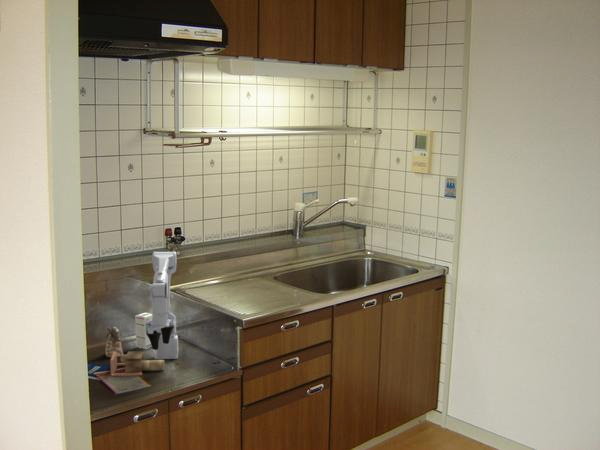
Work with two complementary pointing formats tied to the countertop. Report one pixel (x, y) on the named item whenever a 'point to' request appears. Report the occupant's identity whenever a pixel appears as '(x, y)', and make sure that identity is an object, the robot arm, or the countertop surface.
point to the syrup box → (143, 330)
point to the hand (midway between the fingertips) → (160, 346)
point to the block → (134, 362)
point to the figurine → (113, 342)
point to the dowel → (152, 365)
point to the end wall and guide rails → (114, 364)
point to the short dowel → (123, 358)
